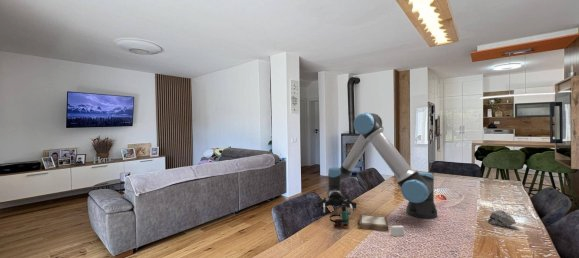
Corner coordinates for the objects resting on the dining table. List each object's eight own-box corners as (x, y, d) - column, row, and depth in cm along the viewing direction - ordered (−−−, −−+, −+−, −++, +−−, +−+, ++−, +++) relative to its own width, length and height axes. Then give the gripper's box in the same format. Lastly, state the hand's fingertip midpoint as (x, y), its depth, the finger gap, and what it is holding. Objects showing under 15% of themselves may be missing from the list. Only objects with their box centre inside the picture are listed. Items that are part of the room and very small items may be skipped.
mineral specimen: (501, 233, 124) (493, 232, 119) (488, 218, 130) (480, 217, 125) (521, 223, 120) (513, 222, 115) (506, 208, 125) (499, 206, 120)
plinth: (386, 221, 128) (386, 216, 128) (388, 231, 117) (388, 225, 117) (360, 219, 132) (359, 214, 132) (359, 228, 120) (359, 223, 120)
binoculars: (328, 202, 129) (348, 201, 127) (330, 223, 129) (350, 222, 127) (327, 208, 121) (348, 207, 119) (330, 230, 121) (351, 229, 119)
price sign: (402, 234, 114) (402, 225, 114) (403, 235, 112) (403, 227, 112) (391, 234, 114) (391, 226, 113) (392, 236, 112) (392, 227, 112)
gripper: (357, 204, 145) (363, 218, 124) (314, 203, 148) (313, 216, 127) (357, 191, 145) (363, 203, 124) (314, 190, 148) (312, 202, 127)
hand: (337, 210), depth 126 cm, fingers open, 13 cm apart
